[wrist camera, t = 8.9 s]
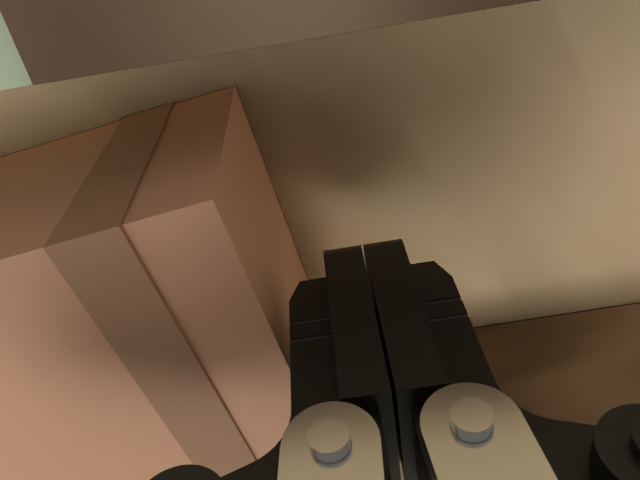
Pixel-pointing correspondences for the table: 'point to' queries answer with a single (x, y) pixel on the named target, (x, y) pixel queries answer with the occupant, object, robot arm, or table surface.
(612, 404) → the bar
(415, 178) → the table surface
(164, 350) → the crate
